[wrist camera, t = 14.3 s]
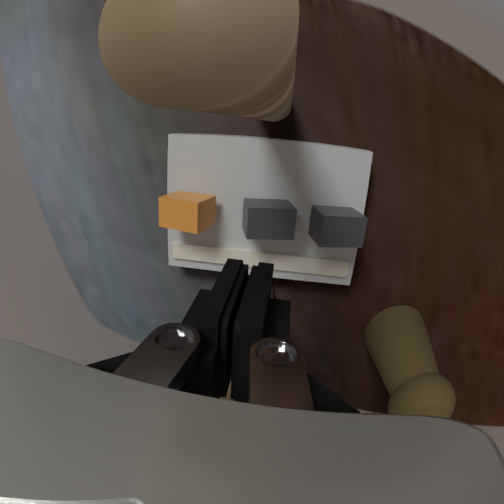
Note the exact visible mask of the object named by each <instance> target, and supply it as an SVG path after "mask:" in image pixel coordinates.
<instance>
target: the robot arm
mask: <svg viewBox="0 0 504 504" xmlns="http://www.w3.org/2000/svg"><path fill="white" fill-rule="evenodd" d="M273 270H274V264H272V263H264V262H259V264H258V266H256V265H253V266H252V269H251V272H250V275H249V278H248V265H247V264H243V260H239V259H230V258H228V259H227V261H226V263H225V265H224V267H223V269H222V271H221V273H220V275H219V277H218V279H217V281H216V283H215V285H214V287H213V288H212V290H205V289H201V290H200V291H199V293H198V294H197V296H196V298H195V300H194V301H193V303H192V305H191V307H190V308H189V310H188V312H187V314H186V316H185V317H184V319H183V321H182V323H168V324H164V325H161V326H159V327H157V328H156V329H155V330H153V331H152V332H151V333H150V334H149V335H148V336H147V338H146V339H145V340H144V341H143V342H142V343H141V344H140V345H139V346H138V347H137V348H136V349H135V350H134V351H133V352H130V353H127V354H124V355H120V356H117V357H113V358H110V359H106V360H103V361H99V362H96V363H92V364H89V365H86V366H85V365H82V364H79V363H76V362H73V361H70V360H68V359H65V358H62V357H59V356H56V355H53V354H50V353H48V352H45V351H42V350H39V349H37V348H33V347H31V346H28V345H25V344H23V343H20V342H16V341H13V340H9V339H6V338H0V504H504V459H503V457H502V455H501V453H500V451H499V449H498V447H497V446H496V444H495V443H494V442H493V440H492V439H491V438H490V437H489V436H488V435H487V434H486V433H485V432H484V431H482V430H481V429H479V428H477V427H475V426H472V425H470V424H467V423H464V422H460V421H456V420H453V419H449V418H442V417H436V416H427V415H413V414H374V413H360V412H359V411H358V410H357V409H355V408H354V407H352V406H351V405H350V404H348V403H347V402H346V401H344V400H343V399H341V398H340V397H339V396H337V395H336V394H335V393H333V392H332V391H331V390H329V389H328V388H327V387H325V386H324V385H323V384H321V383H320V382H319V381H317V380H316V379H315V378H313V377H312V376H311V375H310V374H308V373H307V372H306V368H305V363H304V358H303V354H302V351H301V349H300V348H299V347H298V346H297V345H296V344H295V343H293V342H291V341H290V340H289V327H290V311H291V301H290V300H281V299H273V298H271V289H272V279H273ZM230 381H231V395H230V398H231V399H234V401H230V400H224V399H220V397H222V398H226V395H227V392H228V388H229V385H230Z"/></svg>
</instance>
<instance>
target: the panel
mask: <svg viewBox="0 0 504 504" xmlns="http://www.w3.org/2000/svg"><path fill="white" fill-rule="evenodd" d="M372 155H373V152H371V151H368V150H364V149H358V148H352V147H345V146H338V145H331V144H323V143H315V142H307V141H298V140H288V139H278V138H267V137H254V136H239V135H220V134H191V133H176V134H168V178H167V194H170V193H173V192H176V191H187V192H194V193H201V194H208V195H215V196H216V212H215V224H214V225H213V226H211V227H209V228H207V229H206V230H204V231H202V232H200V233H199V234H194V233H189V232H184V231H179V230H174V229H170V228H168V255H169V265H172V266H180V267H188V268H196V269H204V270H213V271H222V269H223V267H224V265H225V263H226V261H227V259H228V258H230V259H239V260H243V264H247V265H248V275H250V272H251V269H252V266H253V265H256V266H258V264H259V262H264V263H272V264H274V270H273V278H282V279H292V280H301V281H311V282H320V283H330V284H340V285H350V282H351V277H352V273H353V268H354V263H355V258H356V253H357V248H342V247H319V246H318V245H317V243H316V242H315V241H314V240H313V239H312V238H311V237H310V235H309V234H308V230H309V223H310V215H311V207H312V205H320V206H337V207H352V208H354V209H355V210H357V211H358V212H360V213H361V214H363V215H364V209H365V203H366V197H367V191H368V184H369V177H370V170H371V162H372ZM244 198H257V199H283V200H288V201H289V202H290V203H291V204H292V205H293V206H294V207H295V208H296V209H297V217H296V225H295V234H294V240H261V239H246V237H245V234H244V231H243V228H242V216H243V201H244Z"/></svg>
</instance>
